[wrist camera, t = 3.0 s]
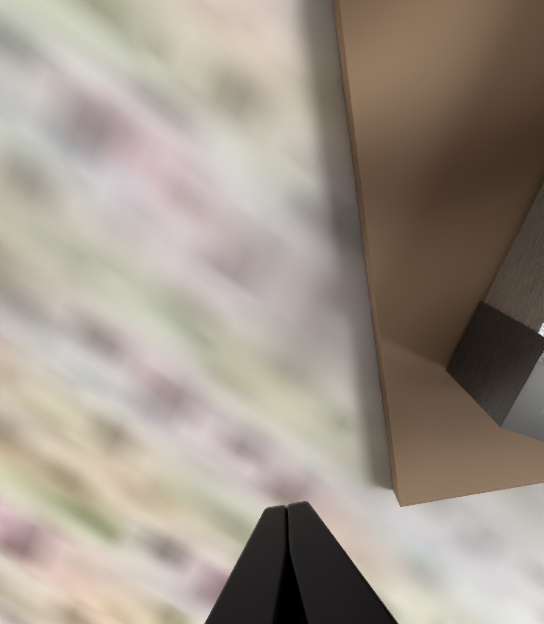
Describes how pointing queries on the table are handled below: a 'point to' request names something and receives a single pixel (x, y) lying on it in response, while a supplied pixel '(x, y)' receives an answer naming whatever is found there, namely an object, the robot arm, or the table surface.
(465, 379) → the tongs jaw
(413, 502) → the board
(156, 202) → the table surface
